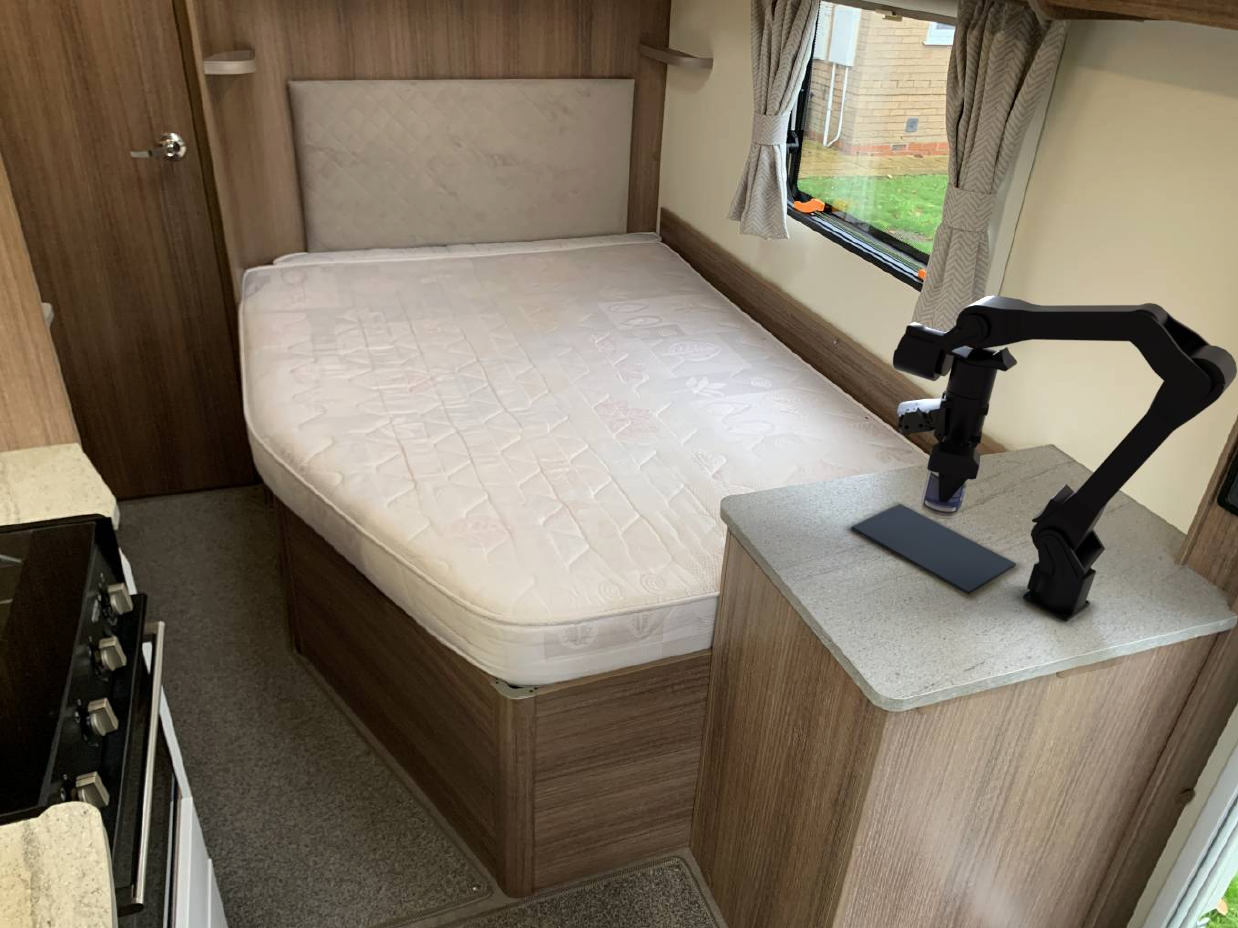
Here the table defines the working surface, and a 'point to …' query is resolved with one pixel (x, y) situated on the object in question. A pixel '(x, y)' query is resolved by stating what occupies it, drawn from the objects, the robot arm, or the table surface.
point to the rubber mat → (934, 548)
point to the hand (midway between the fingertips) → (944, 492)
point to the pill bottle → (931, 499)
